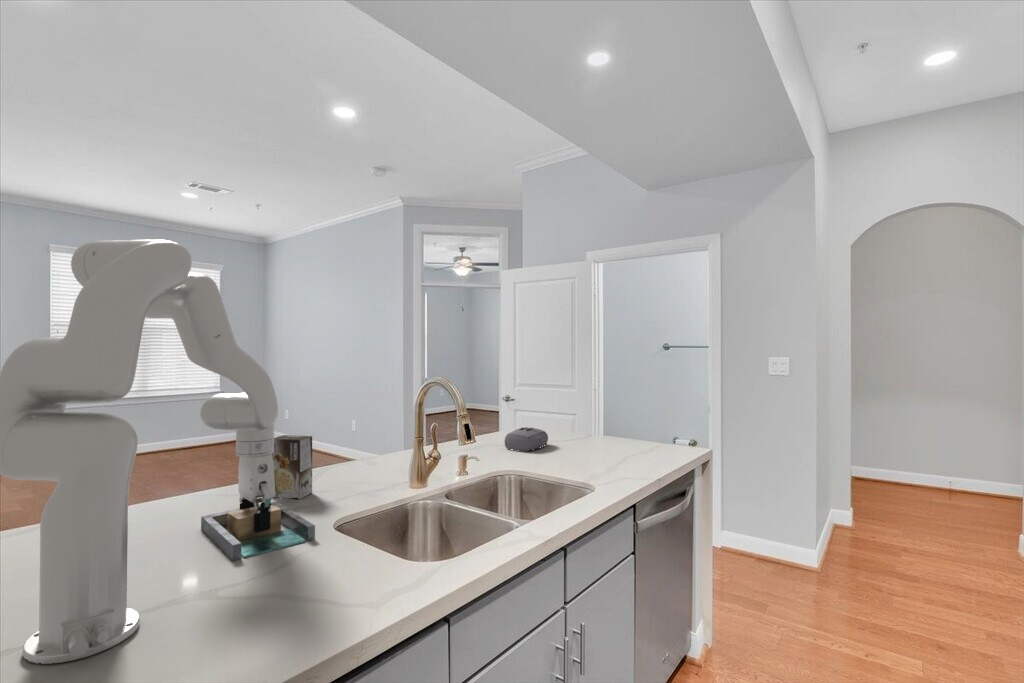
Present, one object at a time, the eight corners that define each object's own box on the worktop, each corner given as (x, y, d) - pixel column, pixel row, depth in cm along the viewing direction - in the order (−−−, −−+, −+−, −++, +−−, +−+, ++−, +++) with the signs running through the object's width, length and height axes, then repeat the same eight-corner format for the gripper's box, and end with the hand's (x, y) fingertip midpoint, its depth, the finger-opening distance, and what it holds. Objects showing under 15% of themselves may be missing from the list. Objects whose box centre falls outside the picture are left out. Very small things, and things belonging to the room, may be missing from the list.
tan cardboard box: (280, 531, 115) (281, 509, 115) (238, 543, 108) (238, 519, 108) (269, 525, 119) (269, 503, 119) (227, 535, 112) (227, 512, 112)
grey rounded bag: (531, 454, 199) (555, 445, 216) (532, 432, 199) (555, 425, 216) (499, 449, 207) (523, 441, 224) (499, 428, 207) (523, 422, 224)
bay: (314, 539, 110) (315, 525, 110) (232, 561, 99) (232, 545, 99) (275, 513, 126) (275, 501, 126) (201, 529, 115) (201, 516, 115)
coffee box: (313, 493, 144) (314, 435, 144) (300, 499, 138) (300, 439, 138) (283, 491, 146) (284, 434, 146) (269, 497, 139) (270, 438, 140)
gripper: (287, 450, 110) (287, 531, 110) (259, 439, 122) (259, 512, 122) (250, 455, 105) (249, 540, 105) (224, 443, 117) (224, 519, 117)
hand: (254, 525), depth 114 cm, fingers open, 9 cm apart
